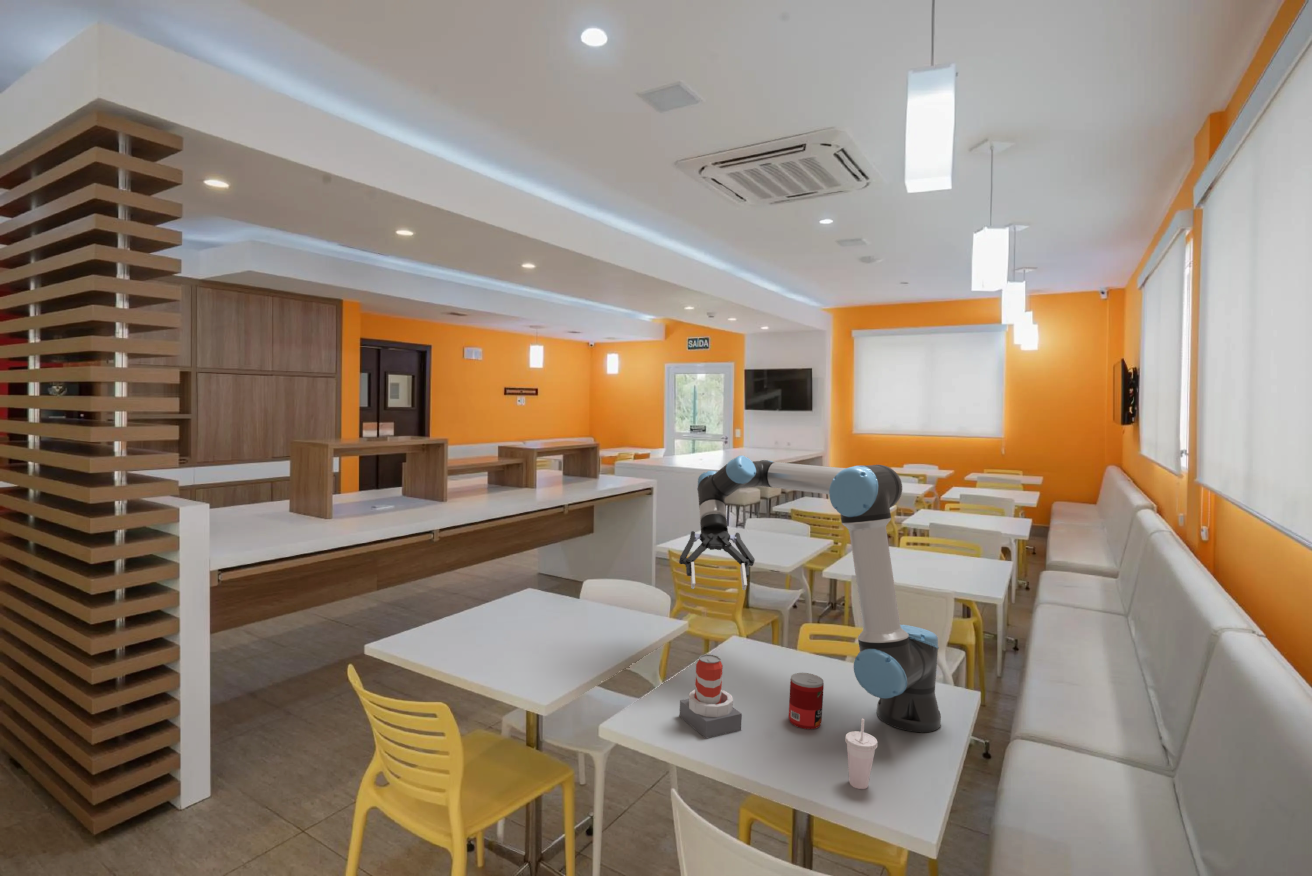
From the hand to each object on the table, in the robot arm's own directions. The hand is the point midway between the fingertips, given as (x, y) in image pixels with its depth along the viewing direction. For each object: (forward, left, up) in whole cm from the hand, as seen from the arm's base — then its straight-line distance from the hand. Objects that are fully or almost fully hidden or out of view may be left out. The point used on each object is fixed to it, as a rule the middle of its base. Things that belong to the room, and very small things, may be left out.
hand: (719, 587), depth 177 cm
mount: (-12, +9, -30) cm, 33 cm away
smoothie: (-47, -5, -30) cm, 56 cm away
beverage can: (-12, +10, -26) cm, 30 cm away
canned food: (-21, -13, -30) cm, 39 cm away
